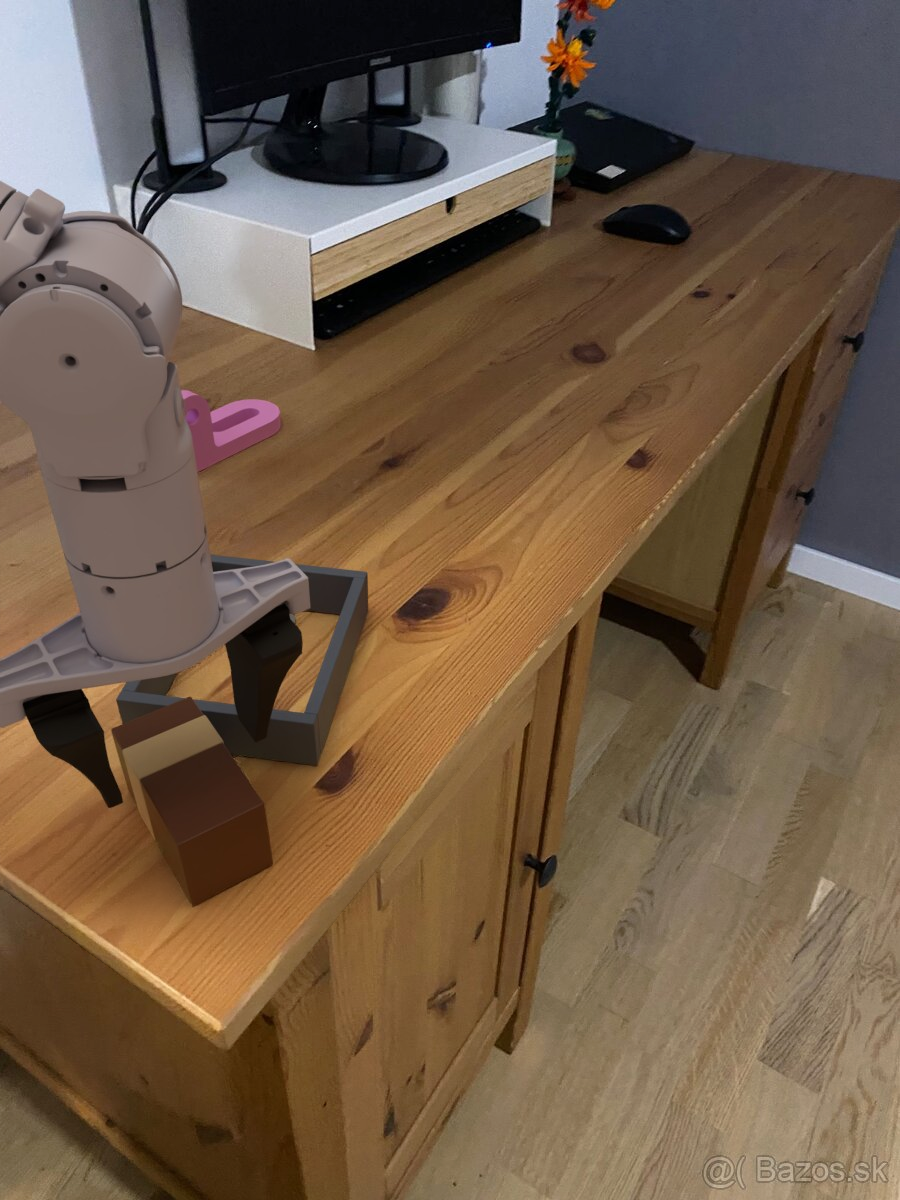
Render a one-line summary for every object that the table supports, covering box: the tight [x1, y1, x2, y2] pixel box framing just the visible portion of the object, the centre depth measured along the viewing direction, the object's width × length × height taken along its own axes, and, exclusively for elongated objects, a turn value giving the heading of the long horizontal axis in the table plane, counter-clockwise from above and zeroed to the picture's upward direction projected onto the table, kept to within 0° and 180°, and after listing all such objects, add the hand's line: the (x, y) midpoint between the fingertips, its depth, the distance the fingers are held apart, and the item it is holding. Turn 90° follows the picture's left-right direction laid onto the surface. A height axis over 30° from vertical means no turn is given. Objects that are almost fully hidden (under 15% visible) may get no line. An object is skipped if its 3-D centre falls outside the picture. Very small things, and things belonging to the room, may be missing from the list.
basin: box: [115, 554, 369, 766], centre depth 58 cm, size 12×15×4 cm
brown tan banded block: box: [110, 696, 274, 907], centre depth 48 cm, size 5×9×5 cm, turn 36°
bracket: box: [181, 389, 282, 473], centre depth 81 cm, size 13×6×7 cm, turn 142°
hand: (183, 759), depth 46 cm, fingers open, 7 cm apart
